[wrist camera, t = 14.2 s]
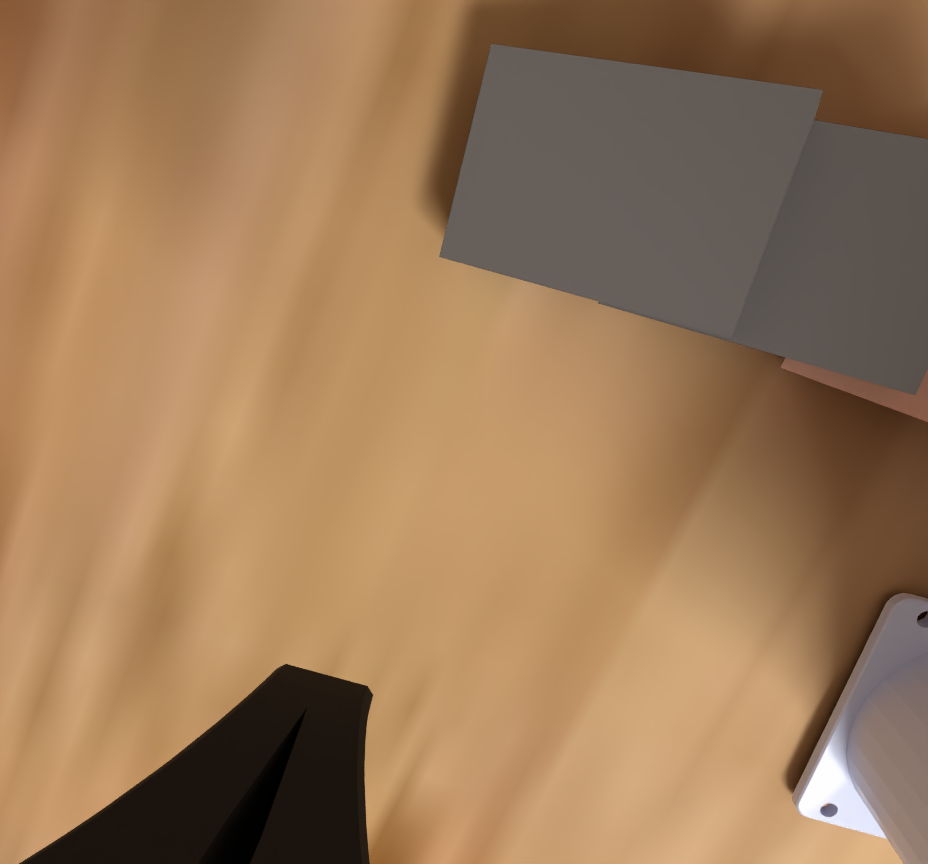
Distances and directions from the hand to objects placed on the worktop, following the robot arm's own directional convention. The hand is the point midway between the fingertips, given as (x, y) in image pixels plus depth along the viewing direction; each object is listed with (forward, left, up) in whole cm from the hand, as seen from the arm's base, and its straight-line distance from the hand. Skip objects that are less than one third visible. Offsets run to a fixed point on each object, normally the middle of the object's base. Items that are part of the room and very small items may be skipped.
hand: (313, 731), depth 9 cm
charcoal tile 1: (0, -9, -9) cm, 13 cm away
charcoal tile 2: (-4, -9, -9) cm, 13 cm away
